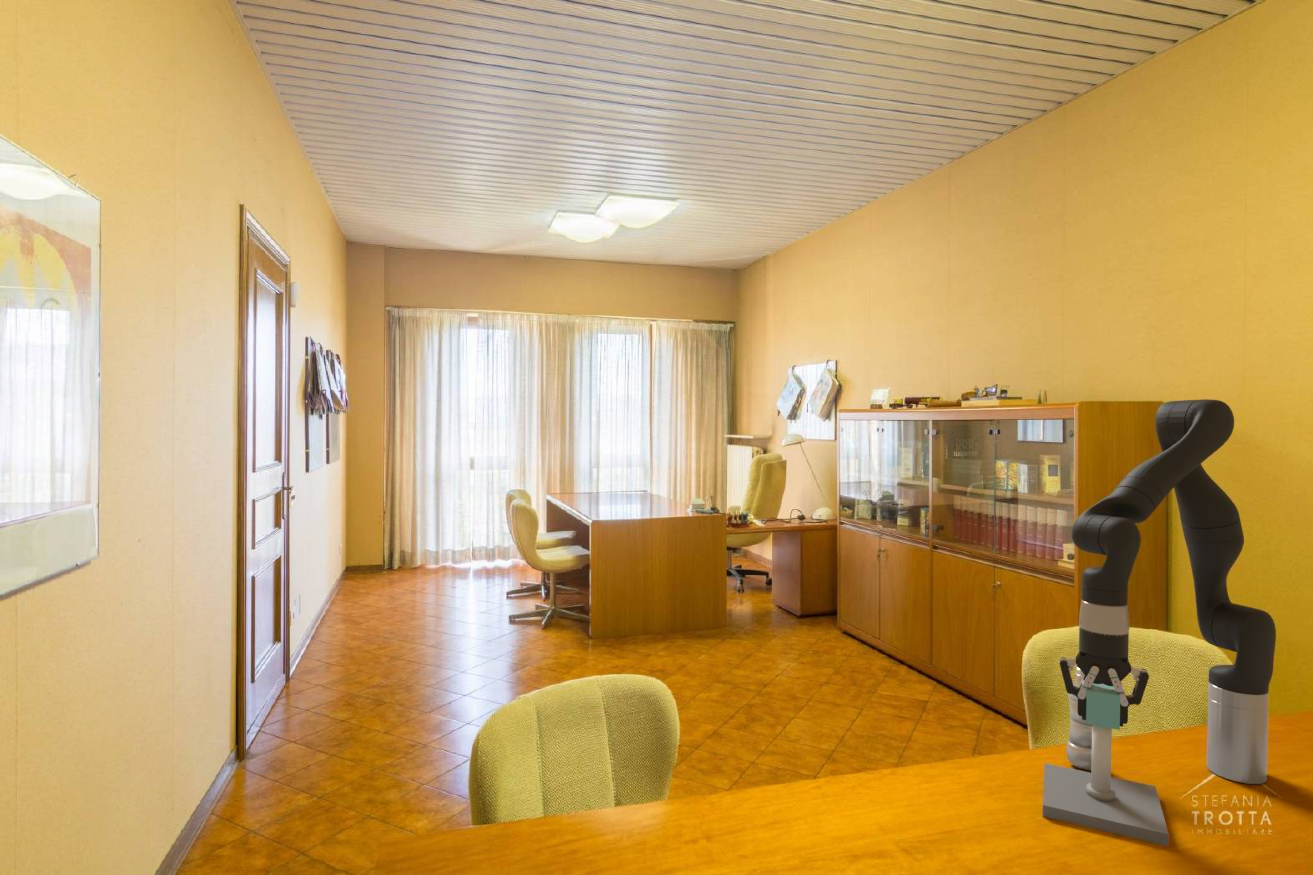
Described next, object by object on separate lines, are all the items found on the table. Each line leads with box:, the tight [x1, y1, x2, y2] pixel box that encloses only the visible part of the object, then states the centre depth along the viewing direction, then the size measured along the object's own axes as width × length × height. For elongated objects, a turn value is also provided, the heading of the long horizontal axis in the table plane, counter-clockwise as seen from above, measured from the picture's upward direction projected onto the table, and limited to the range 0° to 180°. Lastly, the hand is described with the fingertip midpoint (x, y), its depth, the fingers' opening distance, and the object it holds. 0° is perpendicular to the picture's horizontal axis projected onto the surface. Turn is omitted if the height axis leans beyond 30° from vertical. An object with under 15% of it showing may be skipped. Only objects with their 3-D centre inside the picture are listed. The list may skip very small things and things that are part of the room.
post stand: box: [1042, 725, 1170, 847], centre depth 129 cm, size 18×18×18 cm
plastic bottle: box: [1065, 665, 1092, 771], centre depth 144 cm, size 6×7×20 cm
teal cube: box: [1086, 684, 1121, 731], centre depth 129 cm, size 5×5×6 cm
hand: (1101, 721), depth 129 cm, fingers closed on teal cube, 5 cm apart
